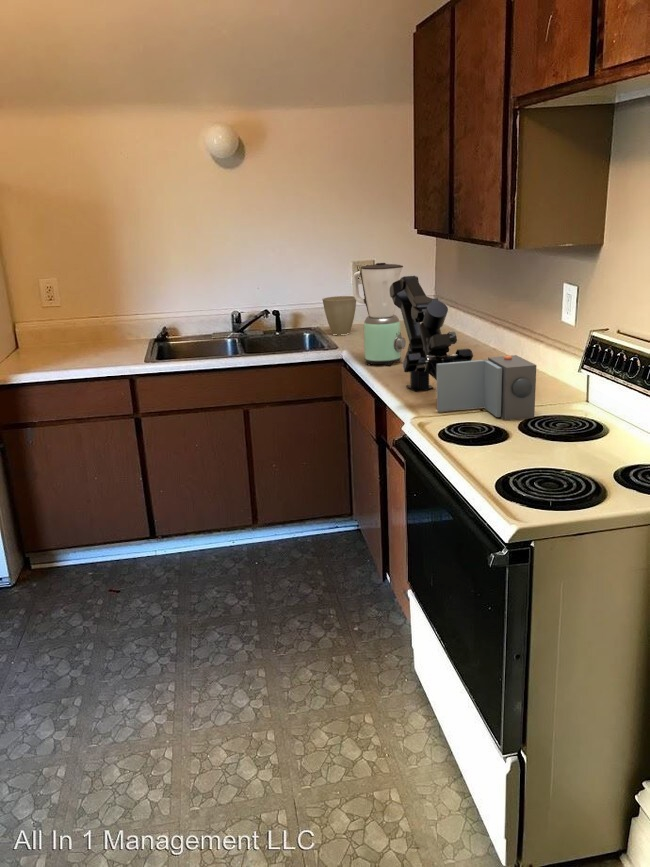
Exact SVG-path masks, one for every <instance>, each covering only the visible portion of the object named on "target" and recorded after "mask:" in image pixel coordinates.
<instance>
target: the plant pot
mask: <svg viewBox="0 0 650 867" xmlns="http://www.w3.org/2000/svg"><path fill="white" fill-rule="evenodd" d="M322 303H323V309H324V313H325V318H326V320H327V324H328V326H329V329H330V331H331V334H332V335H333V334H337V335H341V334H347V333H350V334H351V330H352V327H353V323H354V319H355V315H356V313H355V312H356V308H357V301H356V299H355V298H354V295H352V296H351V295H338V296H337V295H336V296H330V297H329V296H328V297H323V298H322Z"/></svg>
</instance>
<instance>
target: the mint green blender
mask: <svg viewBox="0 0 650 867" xmlns="http://www.w3.org/2000/svg"><path fill="white" fill-rule="evenodd" d="M403 268H404V266H403V265H401V264H395V263H391V264H390V263H387V262H377V263H375V264H368V265H362V266H361V267H360V270H359V271H355V272H354V273H353V275H352V293H353V296H354V298H355V299H356V302H358V303H359V304H364V305H365V306H366V311H367V315H368V316H366V317H365V319H364V322H363V345H364V346H363V347H364V348H363V349H364V360H365V364H366V363H367V364H371V363H372V364H373V365H385V367H391V366H392V364H394V363H398V361H399V362H400V361H401V359H402V351H403V350H404V349H405V348H406V341H407V340H406V338H405V337H403V336H402V333H401V320H400V318H399V317H398V316H397V315H396V314H395V312H396V305H394V302H393V300H392V298H391V297H390V286H391V285H392V283H394V282H396V281H398V280H400V274H401V272H402V270H403ZM359 276H360V278H361V284H362V292H363V298H362V297H361V295H360V290H359Z"/></svg>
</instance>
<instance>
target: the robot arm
mask: <svg viewBox="0 0 650 867" xmlns="http://www.w3.org/2000/svg"><path fill="white" fill-rule="evenodd" d="M390 297H391V298H392V300H393V302H394V305H395V307H396V308H398V309H400V312H401V315H402V319H403V323H404V326H405V330H406V334H407V338H408V341H409V342H408V347H407V350H406V354H405V356H404V360H403V362H402V367H403V372H405V373H409V374H410V375H409V379H410V384H407V385H406V388H407V389H409V390H411V391H413V392H421V391H426V390H429V391H430V390H434V387H433V386H432V385H430V376H431V377H432V378H434V380H435V381H437V364H439V363H451V362H462V361H473V360H472V359H473V357H474V353H473V351H472V349H470V348H459V349H456V351H455V354H448V353H449V352H450V347H451V346H452V345H455V344H456V343H457V341H458V338H457V334H456V331H448V332H447V333H442V330H441V328H442V327H443V326H444V323H445V320H446V317H447V314H448V313H449V309H448V306H447V305H446V304H445V303H444V302H442V301H441V300H440V301H439V298H438V297H434V298H432V297H429V296H427V295H426V293H425V291H424V289H423V288H422V286H421V283H420V282H419V276H416V275H405V276H402V277H400V278H399V280H398V281H396V282H394V283H392V285H391V286H390Z"/></svg>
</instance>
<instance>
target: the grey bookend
mask: <svg viewBox="0 0 650 867" xmlns="http://www.w3.org/2000/svg"><path fill="white" fill-rule="evenodd" d="M501 395H502V368H501V367H499V366H498V365H496V364H494V363H492V362H490V361H489V360H488V358H487V359H475V360H471V361H462V362H451V363H439V364H437V380H436V411H437V412H439V413H440V412H449V411H450V412H451V411H460V410H471V409H472V410H474V409H481V408H482V409H483V408H484V409H485V410H486V411H488V412H489V413H491V414H492V415H493V416H495V417H496V418H501Z"/></svg>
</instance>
